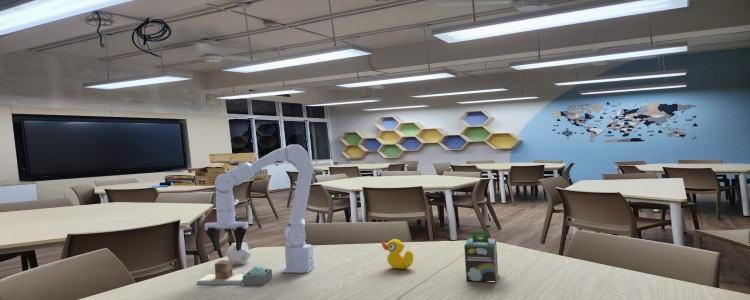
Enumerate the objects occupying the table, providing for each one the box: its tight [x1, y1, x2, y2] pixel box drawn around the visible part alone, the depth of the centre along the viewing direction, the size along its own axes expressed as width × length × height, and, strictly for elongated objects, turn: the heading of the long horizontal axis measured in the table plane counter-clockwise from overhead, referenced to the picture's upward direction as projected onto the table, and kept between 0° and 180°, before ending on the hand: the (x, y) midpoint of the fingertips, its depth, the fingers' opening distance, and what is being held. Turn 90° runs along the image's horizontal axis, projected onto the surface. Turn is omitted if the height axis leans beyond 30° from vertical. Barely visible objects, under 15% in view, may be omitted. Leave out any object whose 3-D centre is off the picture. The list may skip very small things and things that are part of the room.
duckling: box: [381, 238, 414, 270], centre depth 150 cm, size 11×5×10 cm, turn 63°
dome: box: [249, 265, 266, 275], centre depth 143 cm, size 5×5×4 cm
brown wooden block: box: [214, 259, 234, 279], centre depth 145 cm, size 4×4×5 cm
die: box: [225, 241, 252, 266], centre depth 165 cm, size 8×9×10 cm
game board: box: [196, 273, 245, 285], centre depth 145 cm, size 15×7×1 cm, turn 82°
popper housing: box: [242, 268, 273, 286], centre depth 143 cm, size 7×7×3 cm
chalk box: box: [463, 230, 499, 282], centre depth 136 cm, size 9×9×15 cm
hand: (228, 250), depth 146 cm, fingers open, 7 cm apart
